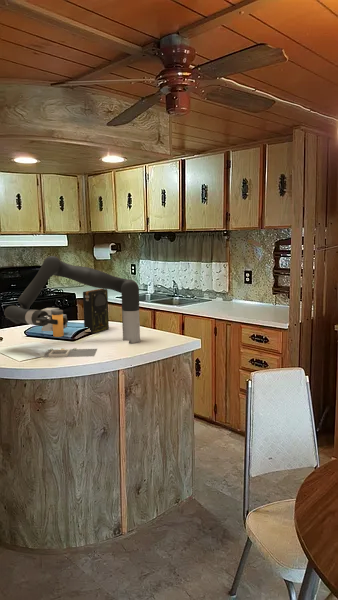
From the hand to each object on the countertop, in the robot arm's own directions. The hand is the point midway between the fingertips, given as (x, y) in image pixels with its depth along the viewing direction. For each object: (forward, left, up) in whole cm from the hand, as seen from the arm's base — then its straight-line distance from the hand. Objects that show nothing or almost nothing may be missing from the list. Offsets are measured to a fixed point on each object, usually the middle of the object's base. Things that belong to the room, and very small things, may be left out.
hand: (61, 321), depth 216 cm
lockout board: (-3, -4, -18) cm, 18 cm away
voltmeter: (-9, -58, -18) cm, 62 cm away
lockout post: (+2, -2, -7) cm, 8 cm away
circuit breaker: (+14, -53, -18) cm, 57 cm away
